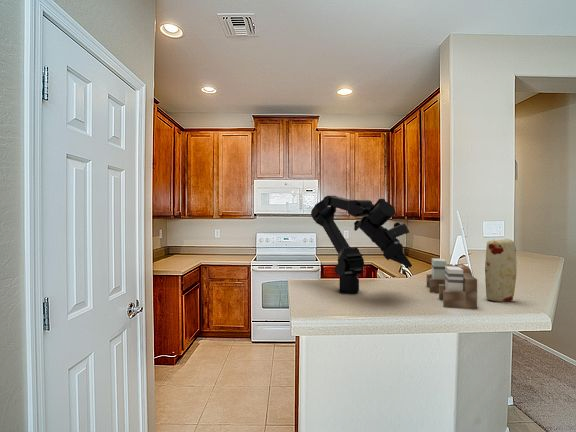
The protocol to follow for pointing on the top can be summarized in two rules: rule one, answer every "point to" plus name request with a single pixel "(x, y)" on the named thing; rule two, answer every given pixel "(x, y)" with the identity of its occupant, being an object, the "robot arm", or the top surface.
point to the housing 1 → (435, 282)
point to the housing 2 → (460, 294)
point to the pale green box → (438, 268)
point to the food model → (500, 270)
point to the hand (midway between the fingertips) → (410, 266)
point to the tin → (464, 268)
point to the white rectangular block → (454, 278)
